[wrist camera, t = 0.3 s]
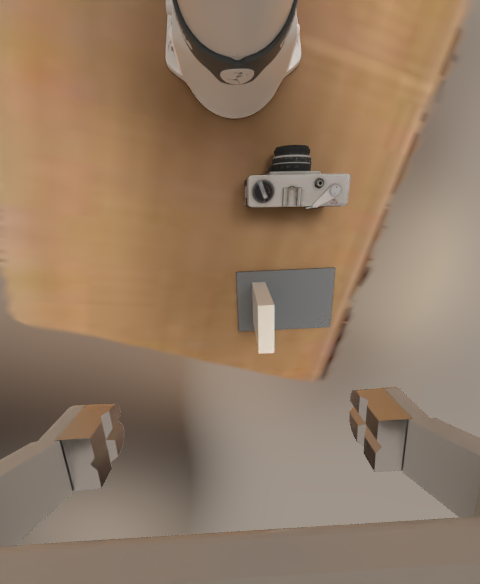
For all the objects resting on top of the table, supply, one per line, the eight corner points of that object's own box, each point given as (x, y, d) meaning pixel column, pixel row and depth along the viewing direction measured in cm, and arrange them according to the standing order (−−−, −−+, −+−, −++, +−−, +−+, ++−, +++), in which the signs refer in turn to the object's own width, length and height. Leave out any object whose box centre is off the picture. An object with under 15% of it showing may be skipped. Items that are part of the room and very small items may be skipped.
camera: (335, 155, 41) (365, 146, 32) (322, 214, 45) (345, 222, 35) (249, 143, 40) (253, 130, 31) (241, 204, 44) (244, 209, 34)
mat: (236, 272, 47) (236, 272, 47) (334, 267, 48) (335, 268, 47) (238, 330, 51) (239, 331, 51) (329, 326, 52) (330, 327, 51)
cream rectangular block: (252, 282, 48) (257, 305, 37) (265, 281, 48) (275, 305, 37) (252, 321, 50) (258, 353, 40) (266, 321, 50) (275, 352, 40)
